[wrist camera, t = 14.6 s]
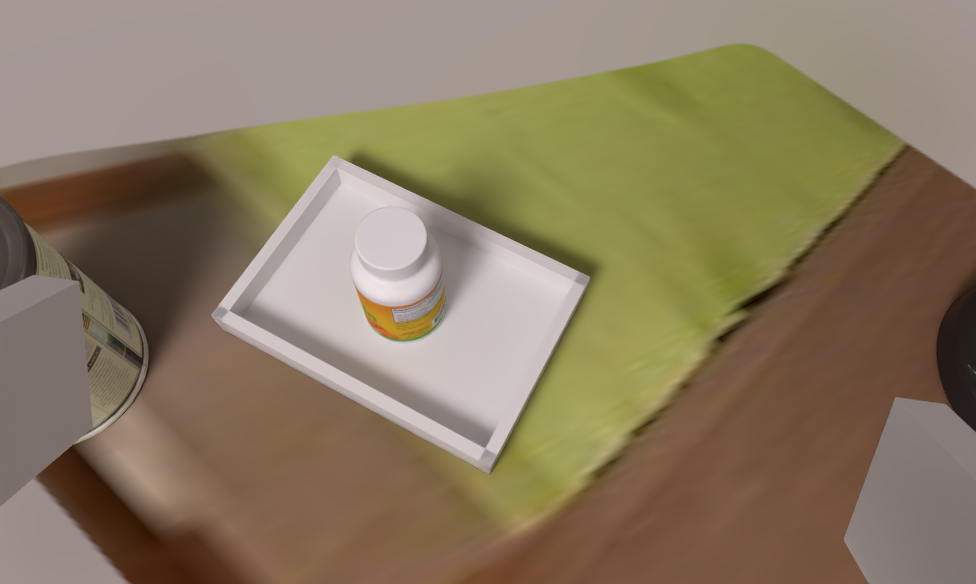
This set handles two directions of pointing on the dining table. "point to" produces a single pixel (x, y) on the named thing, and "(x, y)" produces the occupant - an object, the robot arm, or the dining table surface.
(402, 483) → the dining table surface
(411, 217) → the supplement bottle
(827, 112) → the dining table surface
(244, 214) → the dining table surface
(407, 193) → the white tray
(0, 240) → the coffee can
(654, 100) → the dining table surface
